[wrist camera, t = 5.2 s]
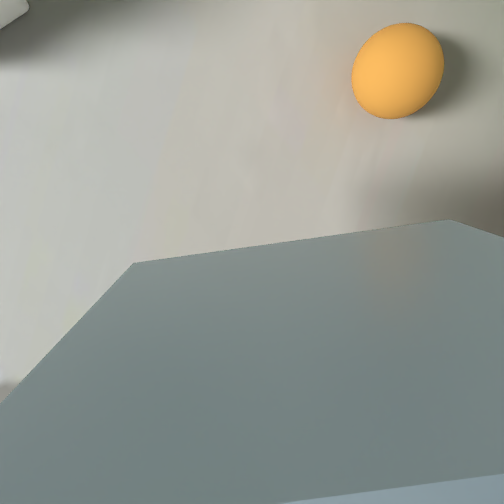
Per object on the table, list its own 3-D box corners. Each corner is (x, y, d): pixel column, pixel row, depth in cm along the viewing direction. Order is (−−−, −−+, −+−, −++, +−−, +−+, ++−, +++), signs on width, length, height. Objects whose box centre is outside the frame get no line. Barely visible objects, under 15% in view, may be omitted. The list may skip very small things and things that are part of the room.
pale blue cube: (133, 263, 12) (-149, 560, 3) (449, 219, 12) (1007, 406, 3) (190, 505, 14) (119, 1006, 6) (446, 471, 14) (738, 931, 6)
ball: (338, 43, 23) (365, 18, 18) (416, 31, 23) (464, 1, 18) (344, 126, 24) (371, 123, 20) (418, 114, 24) (463, 108, 20)
